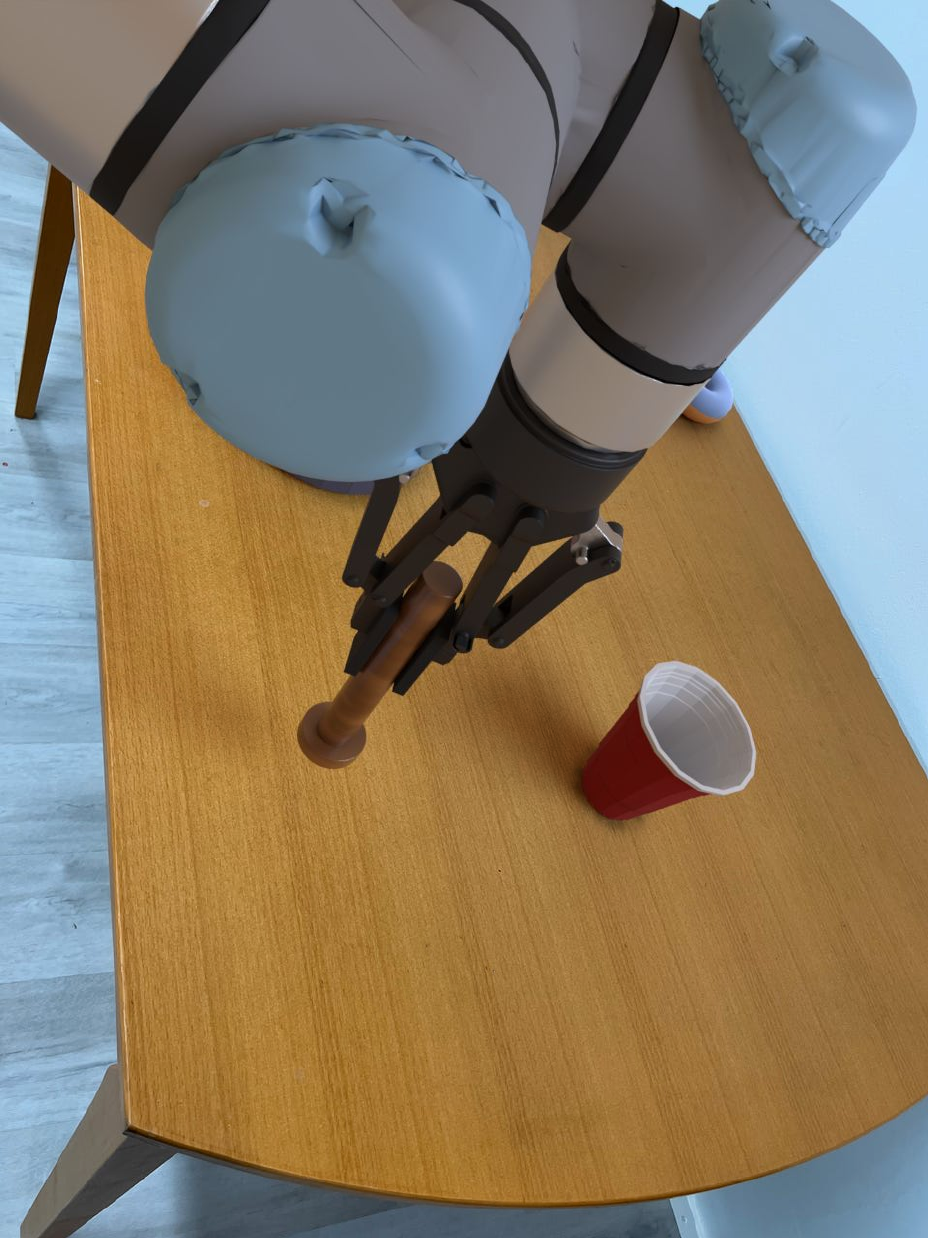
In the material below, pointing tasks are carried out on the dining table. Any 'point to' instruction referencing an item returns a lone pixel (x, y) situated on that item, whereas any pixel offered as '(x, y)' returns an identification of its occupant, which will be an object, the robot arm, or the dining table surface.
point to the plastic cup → (670, 746)
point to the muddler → (377, 671)
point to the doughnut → (711, 400)
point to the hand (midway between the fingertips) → (378, 665)
